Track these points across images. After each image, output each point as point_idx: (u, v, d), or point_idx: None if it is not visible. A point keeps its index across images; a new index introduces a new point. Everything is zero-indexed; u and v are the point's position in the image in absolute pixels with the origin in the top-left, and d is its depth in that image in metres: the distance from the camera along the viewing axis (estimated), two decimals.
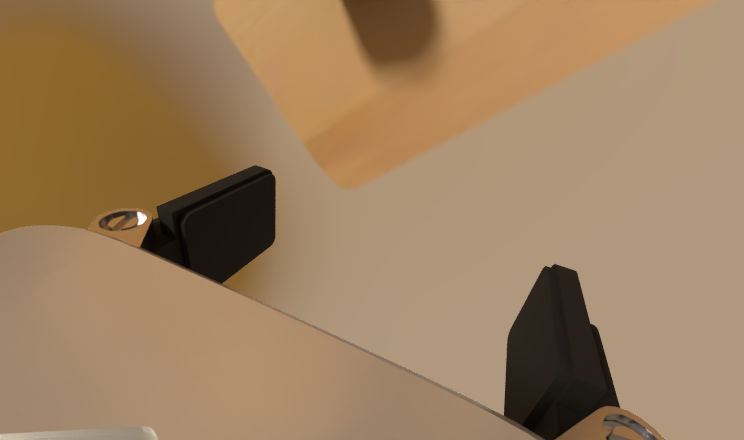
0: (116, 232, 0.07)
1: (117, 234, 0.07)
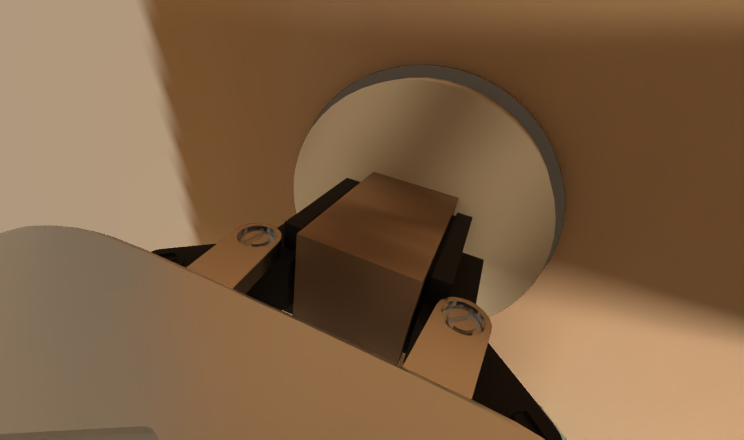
0: (244, 246, 0.08)
1: (244, 249, 0.08)
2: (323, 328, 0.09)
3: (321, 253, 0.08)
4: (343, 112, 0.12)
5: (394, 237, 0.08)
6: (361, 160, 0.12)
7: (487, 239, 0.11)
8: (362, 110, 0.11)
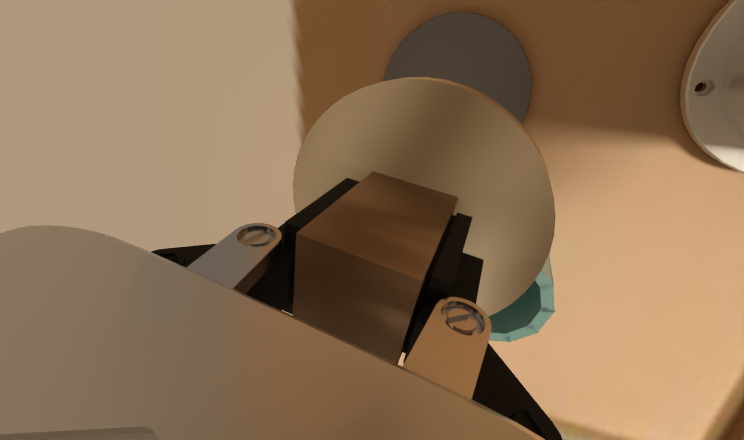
0: (244, 246, 0.08)
1: (244, 249, 0.08)
2: (323, 327, 0.09)
3: (321, 252, 0.08)
4: (342, 112, 0.12)
5: (393, 236, 0.08)
6: (361, 160, 0.12)
7: (487, 238, 0.11)
8: (361, 110, 0.11)
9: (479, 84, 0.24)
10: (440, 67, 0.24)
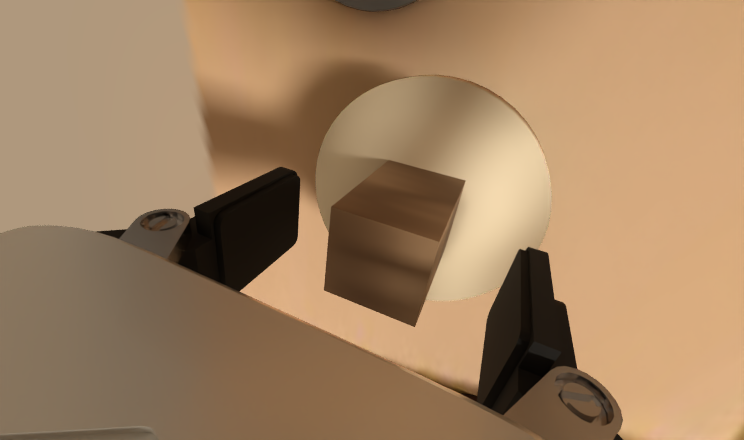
0: (154, 232, 0.08)
1: (155, 234, 0.08)
2: (351, 291, 0.11)
3: (352, 223, 0.09)
4: (361, 107, 0.13)
5: (412, 210, 0.10)
6: (378, 150, 0.14)
7: (492, 217, 0.13)
8: (378, 105, 0.13)
9: None
10: None
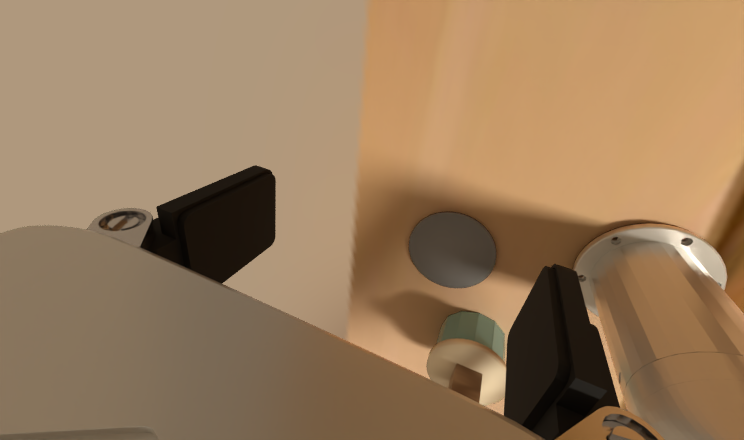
0: (116, 232, 0.07)
1: (117, 234, 0.07)
2: None
3: None
4: (448, 348, 0.40)
5: (469, 396, 0.37)
6: (453, 359, 0.41)
7: (491, 384, 0.40)
8: (454, 349, 0.40)
9: (467, 249, 0.41)
10: (445, 236, 0.41)
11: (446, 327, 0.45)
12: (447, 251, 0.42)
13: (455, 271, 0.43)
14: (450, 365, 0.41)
